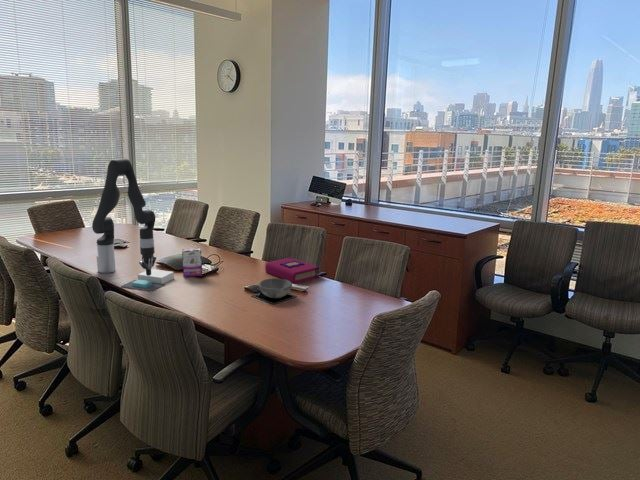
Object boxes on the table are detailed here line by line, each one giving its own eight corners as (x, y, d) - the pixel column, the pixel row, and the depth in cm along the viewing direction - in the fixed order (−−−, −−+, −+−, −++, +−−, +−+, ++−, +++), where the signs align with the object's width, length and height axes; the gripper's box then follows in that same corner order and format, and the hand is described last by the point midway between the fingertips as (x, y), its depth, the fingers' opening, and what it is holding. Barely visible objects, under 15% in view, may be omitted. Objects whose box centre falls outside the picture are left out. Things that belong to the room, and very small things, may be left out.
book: (293, 284, 280) (294, 272, 278) (265, 273, 300) (265, 261, 298) (319, 277, 294) (320, 266, 292) (290, 267, 314) (291, 256, 312)
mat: (120, 287, 265) (120, 286, 265) (134, 280, 276) (134, 279, 276) (151, 291, 260) (151, 290, 260) (164, 285, 271) (164, 284, 271)
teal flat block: (138, 279, 271) (138, 282, 272) (131, 282, 266) (132, 285, 266) (152, 281, 269) (152, 284, 269) (145, 284, 263) (145, 288, 264)
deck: (138, 281, 276) (137, 274, 275) (150, 275, 287) (150, 268, 286) (161, 284, 272) (161, 277, 271) (174, 278, 283) (173, 271, 282)
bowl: (255, 292, 264) (255, 278, 262) (285, 289, 270) (286, 276, 268) (263, 303, 248) (263, 289, 246) (295, 300, 254) (295, 286, 252)
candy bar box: (202, 273, 293) (201, 248, 289) (202, 276, 289) (201, 250, 285) (183, 274, 290) (182, 248, 286) (183, 277, 286) (182, 250, 282)
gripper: (148, 242, 275) (150, 271, 279) (133, 247, 263) (135, 277, 267) (160, 243, 273) (161, 272, 277) (145, 249, 261) (147, 279, 265)
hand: (148, 275), depth 272 cm, fingers closed
